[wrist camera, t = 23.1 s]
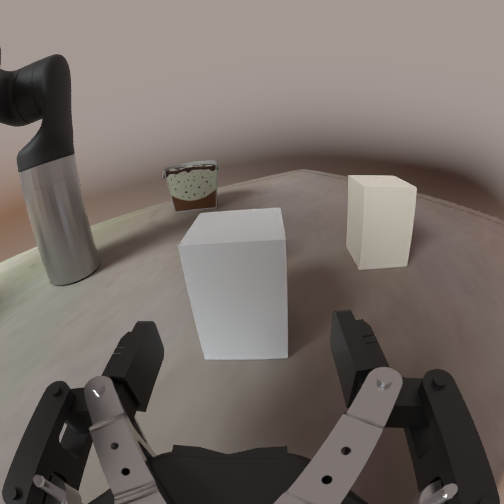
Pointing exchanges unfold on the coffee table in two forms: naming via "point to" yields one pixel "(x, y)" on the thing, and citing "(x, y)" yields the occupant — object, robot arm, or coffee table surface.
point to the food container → (192, 185)
